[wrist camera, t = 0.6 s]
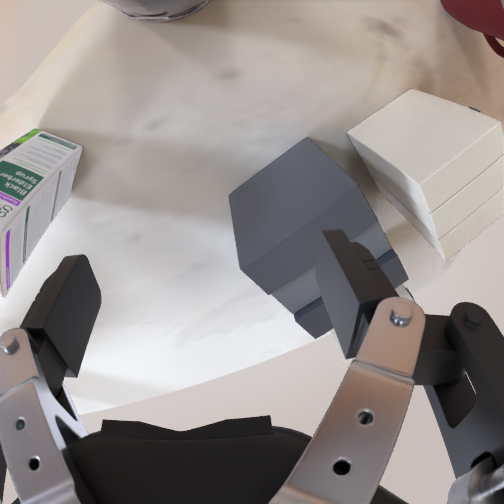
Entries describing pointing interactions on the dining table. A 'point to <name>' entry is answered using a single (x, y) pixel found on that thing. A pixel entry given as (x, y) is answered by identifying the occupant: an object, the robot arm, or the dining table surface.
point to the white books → (436, 166)
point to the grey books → (303, 229)
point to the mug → (480, 18)
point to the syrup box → (31, 195)
